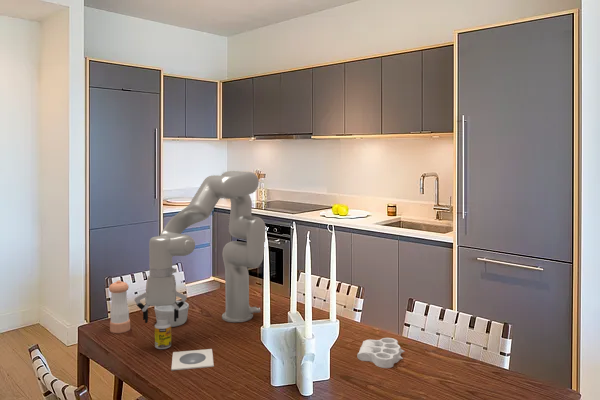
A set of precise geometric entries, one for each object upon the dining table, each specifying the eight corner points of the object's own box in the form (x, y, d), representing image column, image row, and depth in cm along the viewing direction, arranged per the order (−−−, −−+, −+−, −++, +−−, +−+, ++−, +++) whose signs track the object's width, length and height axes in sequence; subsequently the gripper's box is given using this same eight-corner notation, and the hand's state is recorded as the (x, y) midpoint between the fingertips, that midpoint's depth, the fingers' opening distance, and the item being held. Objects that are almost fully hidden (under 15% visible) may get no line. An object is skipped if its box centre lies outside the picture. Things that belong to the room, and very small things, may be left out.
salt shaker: (134, 327, 185) (132, 279, 183) (121, 334, 178) (119, 284, 176) (118, 325, 188) (117, 277, 186) (105, 331, 181) (103, 282, 179)
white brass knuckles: (364, 343, 171) (406, 349, 167) (355, 365, 154) (401, 371, 150) (364, 334, 171) (406, 339, 167) (355, 355, 154) (401, 361, 150)
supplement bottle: (157, 351, 163) (157, 322, 162) (152, 345, 168) (152, 317, 167) (173, 347, 166) (173, 319, 165) (168, 342, 171) (167, 314, 170)
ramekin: (196, 320, 193) (195, 304, 192) (171, 331, 182) (170, 313, 181) (173, 314, 200) (172, 298, 199) (147, 324, 189) (147, 307, 188)
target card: (212, 350, 165) (212, 348, 164) (213, 366, 152) (213, 365, 152) (172, 353, 162) (172, 351, 162) (171, 370, 149) (171, 368, 149)
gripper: (186, 269, 170) (186, 316, 171) (135, 270, 166) (136, 318, 167) (186, 274, 163) (186, 323, 164) (133, 275, 159) (133, 326, 160)
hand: (161, 321), depth 166 cm, fingers open, 9 cm apart
